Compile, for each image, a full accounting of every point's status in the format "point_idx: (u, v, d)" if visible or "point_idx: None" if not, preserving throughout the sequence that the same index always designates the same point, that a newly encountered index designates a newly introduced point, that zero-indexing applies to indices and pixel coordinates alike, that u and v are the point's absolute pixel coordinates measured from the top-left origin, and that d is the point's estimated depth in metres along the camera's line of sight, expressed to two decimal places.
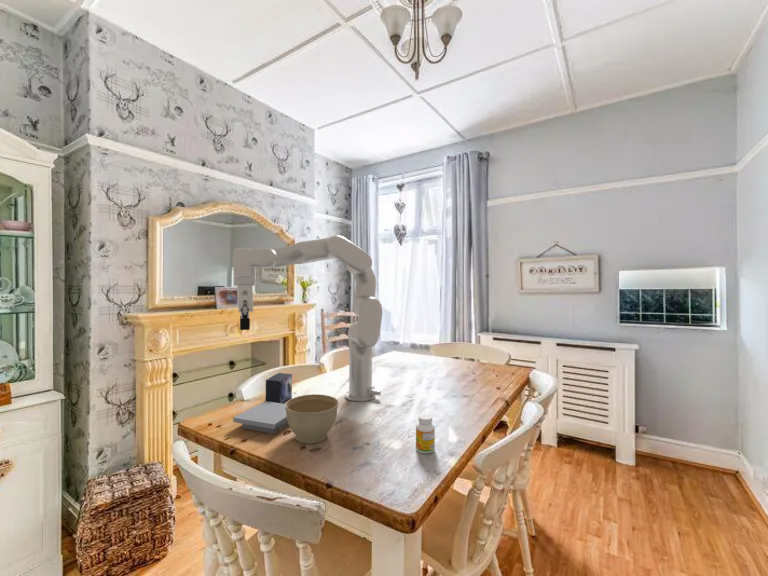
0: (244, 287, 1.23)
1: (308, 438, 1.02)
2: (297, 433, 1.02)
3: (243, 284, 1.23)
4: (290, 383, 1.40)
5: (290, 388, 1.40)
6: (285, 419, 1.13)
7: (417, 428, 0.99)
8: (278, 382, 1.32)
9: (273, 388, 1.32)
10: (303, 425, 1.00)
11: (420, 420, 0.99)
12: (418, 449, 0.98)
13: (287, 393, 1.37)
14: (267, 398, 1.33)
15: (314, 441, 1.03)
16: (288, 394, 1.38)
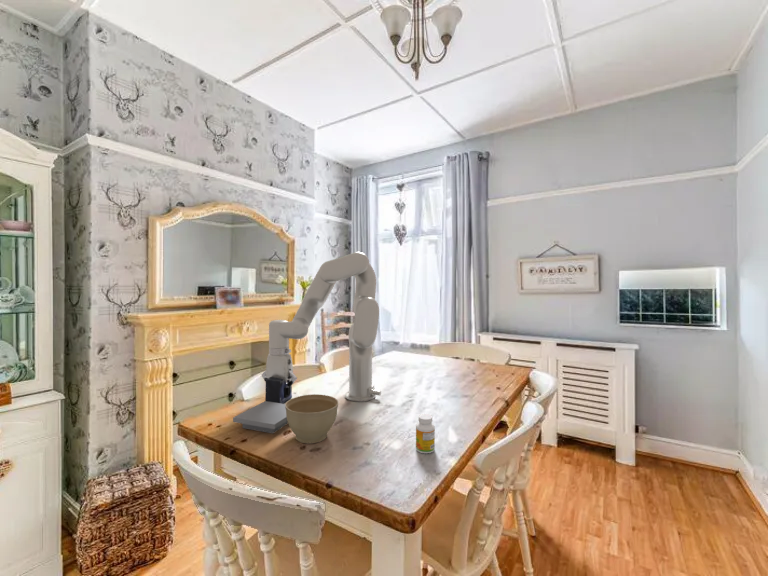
0: (288, 357, 1.35)
1: (308, 438, 1.02)
2: (297, 433, 1.02)
3: (286, 354, 1.35)
4: None
5: (290, 388, 1.40)
6: (285, 419, 1.13)
7: (417, 428, 0.99)
8: (278, 382, 1.32)
9: (272, 388, 1.32)
10: (303, 425, 1.00)
11: (420, 420, 0.99)
12: (418, 449, 0.98)
13: None
14: (267, 398, 1.33)
15: (314, 441, 1.03)
16: None
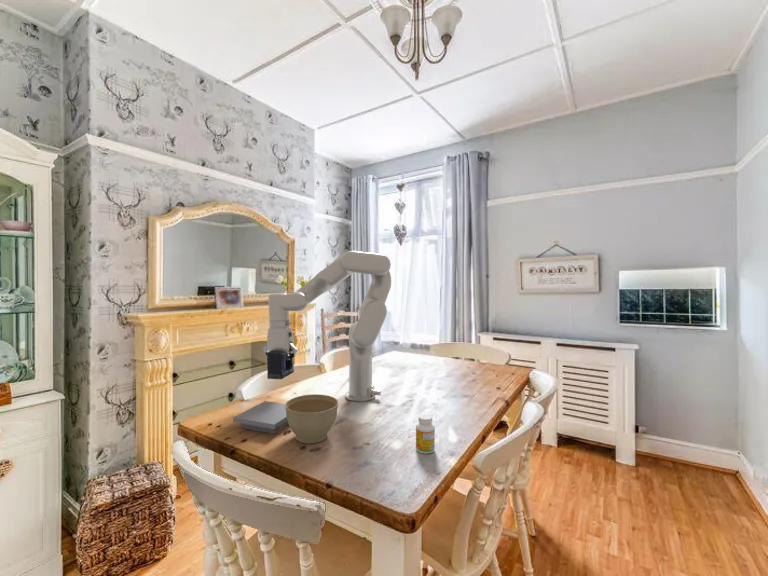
0: (289, 329, 1.35)
1: (308, 438, 1.02)
2: (297, 433, 1.02)
3: (286, 327, 1.35)
4: None
5: (292, 361, 1.40)
6: (285, 419, 1.13)
7: (417, 428, 0.99)
8: (279, 354, 1.32)
9: (274, 360, 1.32)
10: (303, 425, 1.00)
11: (420, 420, 0.99)
12: (418, 449, 0.98)
13: None
14: (269, 371, 1.33)
15: (314, 441, 1.03)
16: None
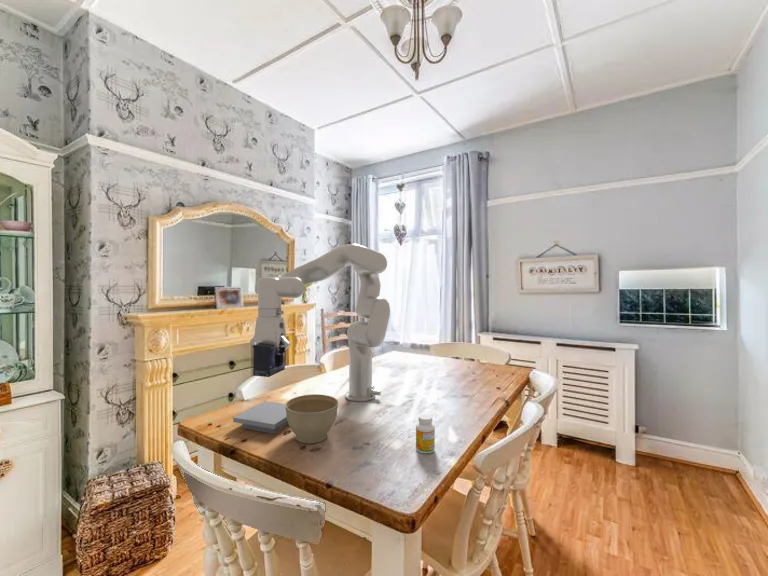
0: (280, 319, 1.16)
1: (308, 438, 1.02)
2: (297, 433, 1.02)
3: (278, 316, 1.16)
4: None
5: (283, 357, 1.21)
6: (285, 419, 1.13)
7: (417, 428, 0.99)
8: (268, 347, 1.13)
9: (261, 354, 1.13)
10: (303, 425, 1.00)
11: (420, 420, 0.99)
12: (418, 449, 0.98)
13: None
14: (255, 366, 1.14)
15: (314, 441, 1.03)
16: None
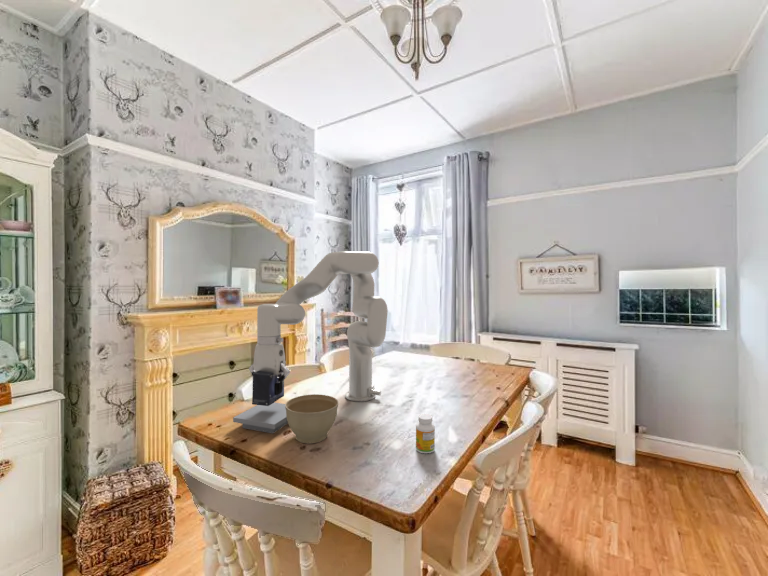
0: (280, 347, 1.15)
1: (308, 438, 1.02)
2: (297, 433, 1.02)
3: (277, 344, 1.15)
4: None
5: (282, 384, 1.20)
6: (285, 419, 1.13)
7: (417, 428, 0.99)
8: (267, 376, 1.12)
9: (261, 383, 1.12)
10: (303, 425, 1.00)
11: (420, 420, 0.99)
12: (418, 449, 0.98)
13: None
14: (254, 395, 1.12)
15: (314, 441, 1.03)
16: None
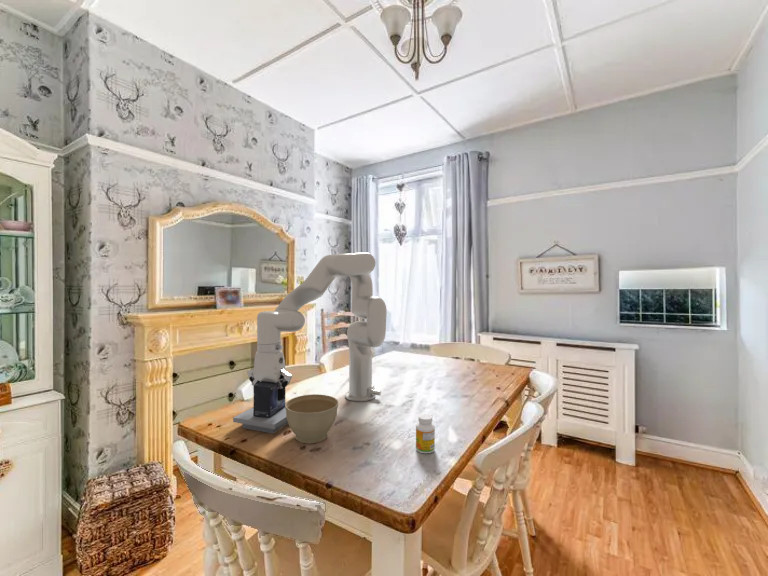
0: (280, 354, 1.15)
1: (308, 438, 1.02)
2: (297, 433, 1.02)
3: (277, 351, 1.15)
4: None
5: None
6: (285, 419, 1.13)
7: (417, 428, 0.99)
8: (268, 388, 1.12)
9: (262, 395, 1.12)
10: (303, 425, 1.00)
11: (420, 420, 0.99)
12: (418, 449, 0.98)
13: (279, 401, 1.17)
14: (255, 407, 1.13)
15: (314, 441, 1.03)
16: (281, 402, 1.18)
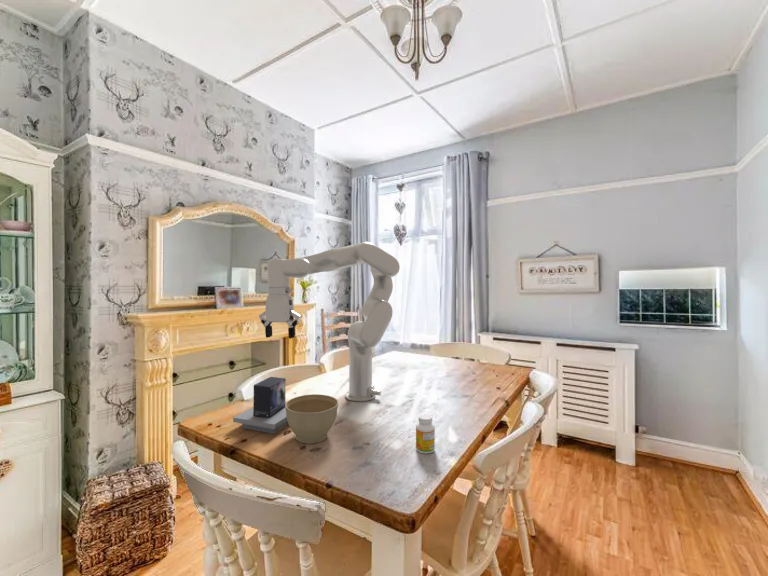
0: (289, 297, 1.27)
1: (308, 438, 1.02)
2: (297, 433, 1.02)
3: (287, 294, 1.27)
4: (283, 389, 1.20)
5: (283, 395, 1.20)
6: (285, 419, 1.13)
7: (417, 428, 0.99)
8: (268, 388, 1.12)
9: (262, 395, 1.12)
10: (303, 425, 1.00)
11: (420, 420, 0.99)
12: (418, 449, 0.98)
13: (279, 401, 1.17)
14: (255, 407, 1.13)
15: (314, 441, 1.03)
16: (281, 402, 1.18)
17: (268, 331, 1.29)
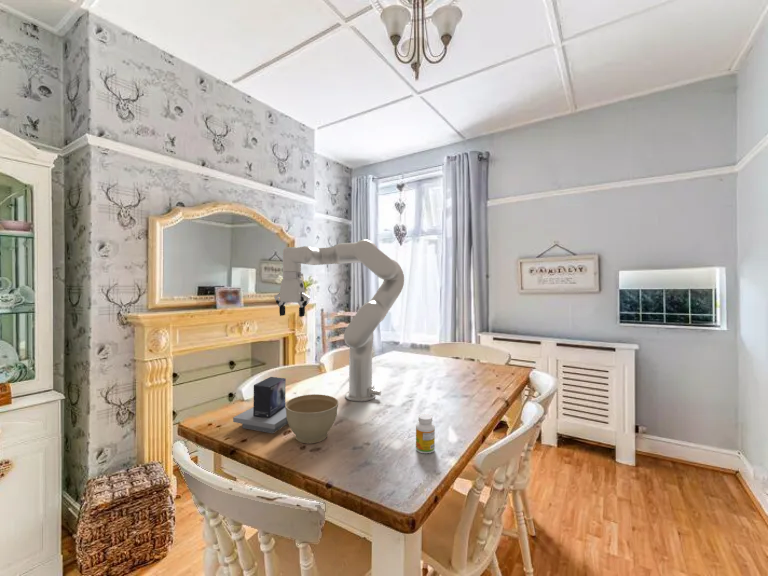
0: (300, 280, 1.47)
1: (308, 438, 1.02)
2: (297, 433, 1.02)
3: (298, 278, 1.46)
4: (283, 389, 1.20)
5: (283, 395, 1.20)
6: (285, 419, 1.13)
7: (417, 428, 0.99)
8: (268, 388, 1.12)
9: (262, 395, 1.12)
10: (303, 425, 1.00)
11: (420, 420, 0.99)
12: (418, 449, 0.98)
13: (279, 401, 1.17)
14: (255, 407, 1.13)
15: (314, 441, 1.03)
16: (281, 402, 1.18)
17: (282, 310, 1.49)
